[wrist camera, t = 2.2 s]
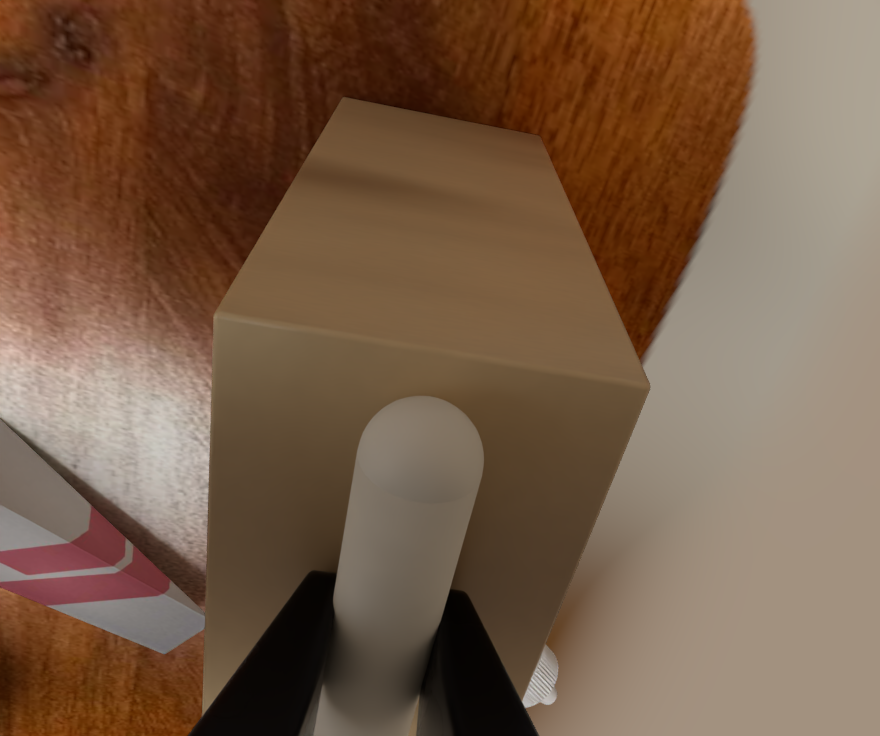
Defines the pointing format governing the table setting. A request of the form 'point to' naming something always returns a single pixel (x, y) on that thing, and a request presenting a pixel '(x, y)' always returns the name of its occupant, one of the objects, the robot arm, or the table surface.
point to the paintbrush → (81, 557)
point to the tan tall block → (414, 370)
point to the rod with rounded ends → (397, 563)
